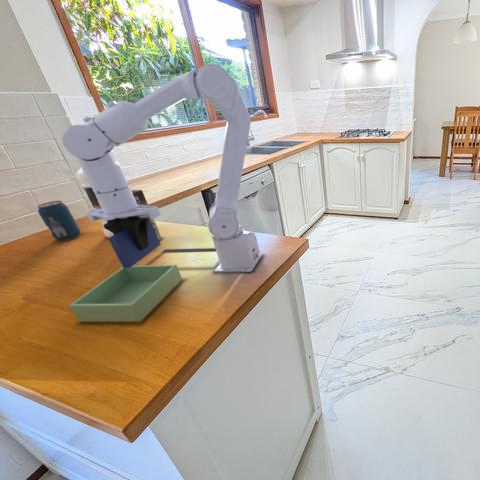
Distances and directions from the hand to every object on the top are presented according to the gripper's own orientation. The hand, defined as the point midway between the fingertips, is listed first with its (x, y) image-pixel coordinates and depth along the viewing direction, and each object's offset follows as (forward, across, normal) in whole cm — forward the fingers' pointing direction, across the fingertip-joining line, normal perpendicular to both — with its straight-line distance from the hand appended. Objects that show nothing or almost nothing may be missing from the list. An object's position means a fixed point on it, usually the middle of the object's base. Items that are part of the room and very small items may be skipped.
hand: (139, 248), depth 64 cm
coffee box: (+10, -19, +20) cm, 29 cm away
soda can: (+10, -50, +28) cm, 58 cm away
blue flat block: (+2, 0, 0) cm, 2 cm away
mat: (+10, +1, +11) cm, 15 cm away
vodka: (+10, -32, +30) cm, 45 cm away
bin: (+10, -1, -6) cm, 11 cm away
